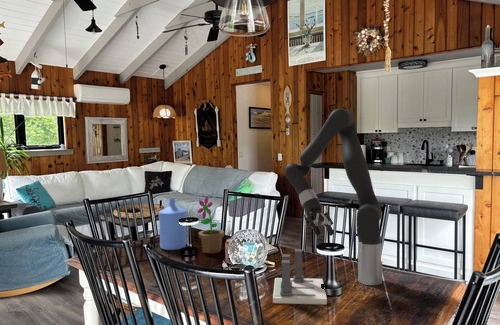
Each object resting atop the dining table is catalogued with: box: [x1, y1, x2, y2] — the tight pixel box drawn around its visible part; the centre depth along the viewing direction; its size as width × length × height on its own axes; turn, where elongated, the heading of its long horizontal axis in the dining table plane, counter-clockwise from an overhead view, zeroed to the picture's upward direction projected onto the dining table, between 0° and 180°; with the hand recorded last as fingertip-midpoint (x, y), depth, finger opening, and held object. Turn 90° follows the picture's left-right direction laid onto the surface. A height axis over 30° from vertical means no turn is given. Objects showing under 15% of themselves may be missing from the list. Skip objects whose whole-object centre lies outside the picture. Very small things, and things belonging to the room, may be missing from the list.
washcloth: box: [267, 244, 279, 256], centre depth 207 cm, size 12×18×3 cm, turn 43°
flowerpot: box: [197, 196, 225, 254], centre depth 208 cm, size 14×14×30 cm
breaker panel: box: [272, 277, 328, 305], centre depth 150 cm, size 20×20×2 cm
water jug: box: [158, 198, 188, 251], centre depth 218 cm, size 16×16×28 cm
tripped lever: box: [292, 248, 305, 282], centre depth 157 cm, size 4×4×12 cm
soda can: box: [224, 238, 231, 264], centre depth 186 cm, size 7×7×12 cm
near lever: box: [280, 259, 292, 296], centre depth 143 cm, size 4×4×12 cm
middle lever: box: [281, 253, 292, 288], centre depth 150 cm, size 4×4×12 cm
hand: (325, 235), depth 157 cm, fingers open, 8 cm apart
